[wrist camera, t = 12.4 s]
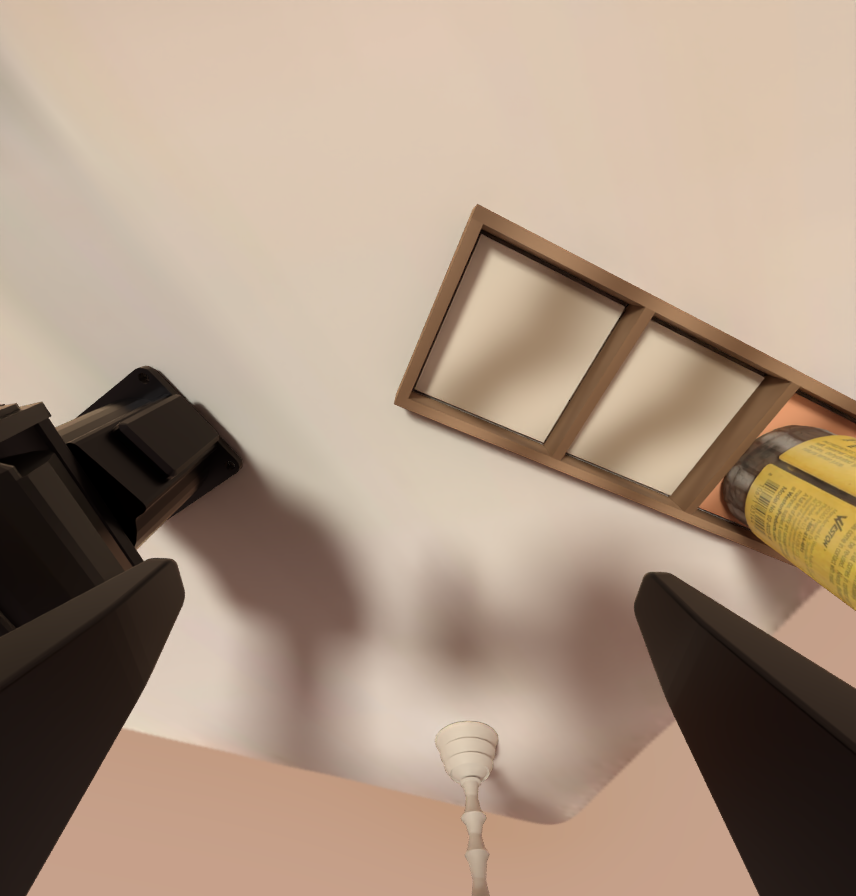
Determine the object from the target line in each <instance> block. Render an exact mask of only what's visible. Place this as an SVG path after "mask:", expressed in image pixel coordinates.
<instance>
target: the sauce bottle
mask: <svg viewBox="0 0 856 896" xmlns="http://www.w3.org/2000/svg"><path fill="white" fill-rule="evenodd" d="M723 496H724V500H725V502H726V504H727V506H728V508H729V510H730V512H731V513H732V515H733V516H734V517H735V518H736V519H738V520H739V521H740V522H741V523H743V524H745V525H746V526H747V527H749V528H750V529H751V530H752V532H753V533H754V534H755V535H756V536H757V537H758V538H759V539H761V540H762V541H763V542H765V543H766V544H767V545H769V546H770V547H771V548H772V549H774V550H775V551H776V552H778V553H779V554H781V555H782V556H783V557H785V558H786V559H787V560H789V561H790V562H791V563H793V564H794V565H795V566H796V567H798V568H799V569H800V570H802V571H803V572H804V573H806V574H807V575H808V576H810V577H811V578H812V579H814V580H815V581H816V582H818V583H819V584H820V585H822V586H823V587H824V588H826V589H827V590H828V591H830V592H831V593H832V594H834V595H835V596H836V597H838V598H839V599H840V600H842V601H843V602H844V603H846V604H847V605H848V606H850V607H851V608H852V609H854V610H855V611H856V438H854V437H851V436H843V435H836V434H834V433H832V432H830V431H828V430H826V429H821V428H816V427H810V426H800V425H788V426H784V427H780V428H777V429H774V430H773V431H771V432H768V433H766V434H764V435H762V436H760V437H758V438H757V439H756V440H755V441H754V442H753V443H752V444H751V446H750V447H749V448H748V449H747V450H746V452H745V453H744V454H743V455H742V456H741V457H740V459H739V460H738V461H737V462H736V463H735V465H734V466H733V467H732V468H731V469H730V471H729V472H728V473H727V474H726V477H725V480H724V483H723Z"/></svg>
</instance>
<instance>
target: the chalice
mask: <svg viewBox="0 0 856 896" xmlns="http://www.w3.org/2000/svg"><path fill="white" fill-rule="evenodd" d="M497 743H498V735H497V733H496V732H495V731H494V729H492V728H491V727H489V726H488V725H486V724H483V723H479V722H472V721H465V722H457V723H454V724H451V725H448V726H446V727H445V728H443V729H442V730H441V731H440V732H439V733H438V734H437V735H436V739H435V744H436V747H437V749H438V751H439V752H440V757H441V760H442V762H443V763H444V765H445V766H444V767H445V771H446V772H447V774H448V775H449V776H450V778H451V779H452V780H453V781H455V782H456V783H459V784H460V785H461V787H463V788H464V792H465V796H466V804H465V812H464V813H463V815H462V817H461V820H462V821H463V823H464V824H465V825H466V827H467V830H468V834H469V842H468V849H467V851H466V853H465V857H466V859H467V861H468V862H469V866H470V870H471V874H472V879H473V886H472V896H490V895H489V891H488V887H487V883H486V868H487V860H488V857H489V852H488V851H487V849H486V848H485V846H484V842H483V839H482V826H483V824H484V822H485V820H486V815H485V814H484V813H483V812H482V811H481V808H480V805H479V801H478V787H479V786H480V785H481V782H483V781H484V780H486V779H487V778H488V776H489V774H490V773H491V771H492V768H493V760H494V757H495V754H496V753H495V748H496V745H497Z"/></svg>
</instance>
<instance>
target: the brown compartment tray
mask: <svg viewBox="0 0 856 896" xmlns="http://www.w3.org/2000/svg"><path fill="white" fill-rule="evenodd" d="M481 229H482V230H484V231H486V232H488V233H490V234H492V235H494V236H496V237H498V238H500V239H502V240H504V241H506V242H508V243H510V244H512V245H514V246H516V247H518V248H520V249H522V250H524V251H526V252H528V253H530V254H531V255H533V256H535V257H537V258H539V259H541V260H543V261H545V262H547V263H549V264H551V265H553V266H555V267H557V268H559V269H561V270H563V271H565V272H567V273H569V274H571V275H573V276H575V277H577V278H579V279H581V280H583V281H585V282H586V283H588V284H590V285H592V286H594V287H596V288H598V289H600V290H602V291H604V292H606V293H608V294H610V295H612V296H614V297H616V298H618V299H620V300H622V301H624V302H626V303H628V306H627V308H626V309H625V307H624V306H622V305H620V304H619V303H617V302H615V301H613V300H611V299H609V298H607V297H605V296H603V295H601V294H599V293H597V292H595V291H593V290H591V289H589V288H587V287H585V286H583V285H581V284H579V283H577V282H575V281H573V280H571V279H569V278H567V277H565V276H563V275H561V274H559V273H557V272H555V271H553V270H551V269H549V268H547V267H545V266H543V265H542V264H540V263H538V262H536V261H534V260H532V259H530V258H528V257H526V256H524V255H522V254H520V253H518V252H516V251H514V250H512V249H510V248H508V247H506V246H504V245H502V244H500V243H498V242H496V241H494V240H492V239H490V238H488V237H486V236H484V235H482V234H481V235H480V237H479V239H478V241H477V244H476V246H475V248H474V251H473V253H472V255H471V258H470V260H469V262H468V265H467V267H466V269H465V272H464V274H463V276H462V279H461V281H460V283H459V285H458V288H457V290H456V292H455V295H454V297H453V299H452V302H451V304H450V306H449V309H448V311H447V313H446V316H445V318H444V320H443V323H442V325H441V327H440V330H439V332H438V334H437V336H436V339H435V341H434V343H433V346H432V348H431V350H430V353H429V355H428V357H427V360H426V362H425V364H424V367H423V369H422V371H421V374H420V376H419V378H418V381H417V383H416V385H415V388H414V389H416V390H418V391H420V392H423V393H425V394H428V395H430V396H432V397H435V398H437V399H440V400H442V401H444V402H447V403H449V404H452V405H454V406H456V407H459V408H461V409H464V410H466V411H468V412H471V413H473V414H476V415H478V416H480V417H483V418H485V419H488V420H490V421H493V422H495V423H497V424H500V425H502V426H505V427H507V428H509V429H512V430H514V431H517V432H519V433H521V434H524V435H526V436H529V437H531V438H533V439H536V440H538V441H541V442H543V443H544V441H545V439H546V438H547V436H548V434H549V433H550V431H551V429H552V428H553V426H554V424H555V423H556V421H557V419H558V418H559V416H560V415H561V413H562V411H563V410H564V408H565V406H566V405H567V403H568V401H569V400H570V398H571V396H572V395H573V393H574V391H575V390H576V388H577V386H578V385H579V383H580V382H581V380H582V378H583V377H584V375H585V373H586V372H587V370H588V368H589V367H590V365H591V363H592V362H593V360H594V358H595V357H596V355H597V353H598V352H599V350H600V348H601V347H602V345H603V344H604V342H605V340H606V339H607V337H608V335H609V334H610V332H611V330H612V329H613V327H614V325H615V324H616V322H617V320H618V319H619V317H620V315H621V314H622V312H623V311H624V309H625V311H624V313H623V314H622V316H621V318H620V319H619V321H618V323H617V324H616V326H615V328H614V329H613V331H612V332H611V334H610V336H609V337H608V339H607V341H606V342H605V344H604V346H603V347H602V349H601V351H600V352H599V354H598V356H597V357H596V359H595V360H594V362H593V364H592V365H591V367H590V369H589V370H588V372H587V374H586V375H585V377H584V379H583V380H582V382H581V384H580V385H579V387H578V388H577V390H576V392H575V393H574V395H573V397H572V398H571V400H570V402H569V403H568V405H567V407H566V408H565V410H564V412H563V413H562V415H561V417H560V418H559V420H558V421H557V423H556V425H555V426H554V428H553V430H552V431H551V433H550V435H549V436H548V438H547V440H546V441H545V443H544V445H542V444H540V443H537V442H535V441H533V440H530V439H528V438H525V437H523V436H520V435H518V434H516V433H513V432H511V431H508V430H506V429H504V428H501V427H499V426H496V425H494V424H492V423H489V422H487V421H484V420H482V419H479V418H477V417H475V416H472V415H470V414H467V413H465V412H463V411H460V410H458V409H455V408H453V407H451V406H448V405H446V404H443V403H441V402H438V401H436V400H434V399H431V398H429V397H426V396H424V395H422V394H419V393H417V392H414V391H412V389H413V386H414V384H415V382H416V379H417V377H418V375H419V372H420V370H421V368H422V365H423V363H424V361H425V358H426V356H427V354H428V351H429V349H430V347H431V344H432V342H433V340H434V337H435V335H436V333H437V331H438V328H439V326H440V324H441V321H442V319H443V317H444V314H445V312H446V310H447V307H448V305H449V303H450V300H451V298H452V296H453V293H454V291H455V289H456V286H457V284H458V282H459V279H460V277H461V275H462V272H463V270H464V268H465V265H466V263H467V261H468V258H469V256H470V254H471V251H472V249H473V247H474V244H475V242H476V240H477V237H478V235H479V233H480V230H481ZM652 317H655V318H657V319H659V320H661V321H663V322H665V323H667V324H669V325H671V326H673V327H675V328H677V329H679V330H681V331H683V332H685V333H687V334H689V335H691V336H693V337H695V338H696V339H698V340H700V341H702V342H704V343H706V344H708V345H710V346H712V347H714V348H716V349H718V350H720V351H722V352H724V353H726V354H728V355H730V356H732V357H734V358H736V359H738V360H740V361H742V362H744V363H746V364H748V365H750V366H751V367H753V368H755V369H757V370H759V371H761V372H763V373H765V374H766V375H765V376H764V377H763V376H761V375H759V374H757V373H755V372H753V371H751V370H749V369H747V368H745V367H743V366H741V365H739V364H737V363H735V362H733V361H731V360H729V359H727V358H725V357H723V356H721V355H719V354H717V353H715V352H713V351H711V350H709V349H707V348H705V347H703V346H701V345H699V344H697V343H695V342H694V341H692V340H690V339H688V338H686V337H684V336H682V335H680V334H678V333H676V332H674V331H672V330H670V329H668V328H666V327H664V326H662V325H660V324H658V323H656V322H654V321H652V320H651V318H652ZM797 390H799V391H801V392H803V393H805V394H806V395H808V396H810V397H812V398H814V399H816V400H818V401H820V402H822V403H824V404H826V405H828V406H830V407H832V408H834V409H836V410H838V411H840V412H842V413H844V414H846V415H848V416H850V417H852V418H854V419H856V401H855V400H853V399H851V398H849V397H847V396H845V395H843V394H842V393H840V392H838V391H836V390H834V389H832V388H830V387H828V386H826V385H824V384H822V383H820V382H818V381H817V380H815V379H813V378H811V377H809V376H807V375H805V374H803V373H801V372H799V371H797V370H795V369H794V368H792V367H790V366H788V365H786V364H784V363H782V362H780V361H778V360H776V359H774V358H772V357H770V356H769V355H767V354H765V353H763V352H761V351H759V350H757V349H755V348H753V347H751V346H749V345H747V344H745V343H744V342H742V341H740V340H738V339H736V338H734V337H732V336H730V335H728V334H726V333H724V332H722V331H721V330H719V329H717V328H715V327H713V326H711V325H709V324H707V323H705V322H703V321H701V320H699V319H697V318H696V317H694V316H692V315H690V314H688V313H686V312H684V311H682V310H680V309H678V308H676V307H674V306H672V305H671V304H669V303H667V302H665V301H663V300H661V299H659V298H657V297H655V296H653V295H651V294H649V293H648V292H646V291H644V290H642V289H640V288H638V287H636V286H634V285H632V284H630V283H628V282H626V281H624V280H623V279H621V278H619V277H617V276H615V275H613V274H611V273H609V272H607V271H605V270H603V269H601V268H599V267H598V266H596V265H594V264H592V263H590V262H588V261H586V260H584V259H582V258H580V257H578V256H576V255H575V254H573V253H571V252H569V251H567V250H565V249H563V248H561V247H559V246H557V245H555V244H553V243H551V242H550V241H548V240H546V239H544V238H542V237H540V236H538V235H536V234H534V233H532V232H530V231H528V230H526V229H525V228H523V227H521V226H519V225H517V224H515V223H513V222H511V221H509V220H507V219H505V218H503V217H502V216H500V215H498V214H496V213H494V212H492V211H490V210H488V209H486V208H484V207H482V206H480V205H478V204H477V205H476V206H475V207H474V208H473V210H472V213H471V215H470V217H469V220H468V222H467V225H466V227H465V229H464V232H463V234H462V237H461V239H460V241H459V244H458V246H457V249H456V251H455V254H454V256H453V258H452V261H451V263H450V266H449V268H448V270H447V273H446V275H445V278H444V280H443V282H442V285H441V287H440V290H439V292H438V295H437V297H436V299H435V302H434V304H433V307H432V309H431V311H430V314H429V316H428V319H427V321H426V323H425V326H424V328H423V331H422V333H421V336H420V338H419V340H418V343H417V345H416V348H415V350H414V352H413V355H412V357H411V360H410V362H409V364H408V367H407V369H406V372H405V374H404V376H403V379H402V381H401V384H400V386H399V389H398V391H397V393H396V397H395V402H394V404H395V405H397V406H400V407H402V408H405V409H407V410H410V411H412V412H415V413H417V414H420V415H422V416H425V417H427V418H429V419H432V420H434V421H437V422H439V423H442V424H444V425H447V426H449V427H452V428H454V429H457V430H459V431H462V432H464V433H467V434H469V435H471V436H474V437H476V438H479V439H481V440H484V441H486V442H489V443H491V444H494V445H496V446H499V447H501V448H504V449H506V450H509V451H511V452H514V453H516V454H518V455H521V456H523V457H526V458H528V459H531V460H533V461H536V462H538V463H541V464H543V465H546V466H548V467H551V468H553V469H556V470H558V471H560V472H563V473H565V474H568V475H570V476H573V477H575V478H578V479H580V480H583V481H585V482H588V483H590V484H593V485H595V486H598V487H600V488H603V489H605V490H607V491H610V492H612V493H615V494H617V495H620V496H622V497H625V498H627V499H630V500H632V501H635V502H637V503H640V504H642V505H645V506H647V507H649V508H652V509H654V510H657V511H659V512H662V513H664V514H667V515H669V516H672V517H674V518H677V519H679V520H682V521H684V522H687V523H689V524H692V525H694V526H696V527H699V528H701V529H704V530H706V531H709V532H711V533H714V534H716V535H719V536H721V537H724V538H726V539H729V540H731V541H734V542H736V543H738V544H741V545H743V546H746V547H748V548H751V549H753V550H756V551H758V552H761V553H763V554H766V555H768V556H771V557H773V558H776V559H778V560H781V561H783V562H785V563H788V564H790V565H793V566H795V565H794V564H793V563H791V562H790V561H789V560H787V559H786V558H785V557H783V556H782V555H781V554H779V553H778V552H776V551H775V550H774V549H772V548H771V547H770V546H769V545H767V544H766V543H765V542H763V541H762V540H761V539H759V538H758V537H757V536H756V535H755V534H754V533H753V532H752V531H750V530H747V529H745V528H742V527H740V526H738V525H735V524H733V523H730V522H728V521H726V520H723V519H721V518H718V517H716V516H713V515H711V514H709V513H706V512H704V511H701V510H699V509H697V508H698V507H699V508H702V509H704V510H707V511H709V512H711V513H714V514H716V515H719V516H721V517H723V518H726V519H728V520H731V521H733V522H735V523H738V524H740V525H743V526H745V527H747V526H746V525H745V524H743V523H741V522H740V521H739V520H738V519H736V518H735V517H734V516H733V515H732V513H731V512H730V510H729V508H728V506H727V504H726V502H725V500H724V496H723V483H724V480H725V477H726V474H727V473H728V472H729V471H730V469H731V468H732V467H733V466H734V465H735V463H736V462H737V461H738V460H739V459H740V457H741V456H742V455H743V454H744V453H745V452H746V450H747V449H748V448H749V447H750V446H751V444H752V443H753V442H754V441H755V440H756V439H757V438H758V437H760V436H762V435H764V434H766V433H768V432H771V431H773V430H774V429H777V428H780V427H784V426H788V425H800V426H810V427H816V428H821V429H826V430H828V431H830V432H832V433H834V434H836V435H843V436H851V437H854V438H856V424H855V423H853V422H851V421H849V420H847V419H846V418H844V417H842V416H840V415H838V414H836V413H834V412H832V411H830V410H828V409H826V408H824V407H822V406H820V405H818V404H816V403H814V402H812V401H810V400H808V399H806V398H804V397H802V396H800V395H798V394H796V393H795V392H796V391H797ZM566 452H567V453H569V454H572V455H574V456H577V457H579V458H582V459H584V460H586V461H589V462H591V463H594V464H596V465H598V466H601V467H603V468H606V469H608V470H610V471H613V472H615V473H618V474H620V475H622V476H625V477H627V478H630V479H632V480H634V481H637V482H639V483H642V484H644V485H646V486H649V487H651V488H654V489H656V490H658V491H661V492H663V493H666V494H668V495H669V497H668V496H665V495H663V494H660V493H658V492H656V491H653V490H651V489H648V488H646V487H644V486H641V485H639V484H636V483H634V482H631V481H629V480H627V479H624V478H622V477H619V476H617V475H615V474H612V473H610V472H607V471H605V470H603V469H600V468H598V467H595V466H593V465H590V464H588V463H586V462H583V461H581V460H578V459H576V458H574V457H571V456H569V455H566V454H565V453H566ZM747 528H749V527H747ZM795 567H796V566H795Z"/></svg>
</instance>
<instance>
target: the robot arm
mask: <svg viewBox="0 0 856 896" xmlns="http://www.w3.org/2000/svg"><path fill="white" fill-rule="evenodd" d="M144 373H145V374H146V375H148V377H149V381H147V380H146V379H145V378H144V375H143V374H144ZM49 417H51V414H50V413H49V411H48V410H47V408H46V407H45V405H44V404H43V402H38V403H34V404H30V405H25V406H21V407H19V406H18V404H17V403H15V404H9V405H5V404H2V405H0V896H26V895H27V893H28V892H29V890H30V888H31V886H32V885H33V883H34V881H35V879H36V878H37V876H38V874H39V872H40V871H41V869H42V867H43V865H44V864H45V862H46V860H47V858H48V857H49V855H50V853H51V851H52V850H53V848H54V846H55V844H56V843H57V841H58V839H59V837H60V836H61V834H62V832H63V830H64V829H65V827H66V825H67V823H68V822H69V820H70V818H71V816H72V815H73V813H74V811H75V809H76V808H77V806H78V804H79V802H80V801H81V799H82V797H83V795H84V794H85V792H86V790H87V788H88V787H89V785H90V783H91V781H92V780H93V778H94V776H95V774H96V773H97V771H98V769H99V767H100V766H101V764H102V762H103V760H104V759H105V757H106V755H107V753H108V752H109V750H110V748H111V746H112V745H113V743H114V741H115V739H116V737H117V736H118V734H119V732H120V731H121V729H122V727H123V725H124V724H125V722H126V720H127V718H128V717H129V715H130V713H131V711H132V710H133V708H134V706H135V704H136V703H137V701H138V699H139V697H140V695H141V693H142V692H143V690H144V688H145V686H146V684H147V682H148V680H149V678H150V676H151V674H152V672H153V670H154V667H155V665H156V663H157V661H158V659H159V656H160V654H161V652H162V650H163V648H164V645H165V643H166V641H167V639H168V637H169V634H170V632H171V630H172V628H173V626H174V623H175V621H176V619H177V617H178V615H179V612H180V610H181V608H182V606H183V603H184V599H185V590H184V587H183V583H182V579H181V576H180V572H179V569H178V565H177V563H176V562H175V561H174V560H173V559H168V558H151V559H148V560H145V561H143V559H142V558H141V556H140V555H139V553H138V552H137V549H138V548H139V547H140V546H141V545H142V544H143V543H144V542H145V541H146V540H147V539H148V538H149V537H150V536H151V535H152V534H153V533H154V532H155V531H156V530H157V529H158V528H159V527H160V526H161V525H162V524H163V523H164V522H165V521H166V520H168V519H169V518H171V517H172V516H174V515H175V514H176V513H178V512H179V511H181V510H182V509H184V508H185V507H187V506H188V505H190V504H191V503H193V502H194V501H196V500H197V499H199V498H200V497H202V496H203V495H205V494H206V493H207V492H209V491H210V490H212V489H213V488H215V487H216V486H218V485H219V484H221V483H222V482H224V481H225V480H227V479H228V478H230V477H231V476H233V475H234V474H236V473H237V472H238V471H239V470H240V469H241V467H242V465H243V462H242V459H241V458H240V457H239V456H238V455H237V454H236V453H235V452H234V451H233V450H232V448H231V447H230V446H229V445H228V444H227V443H226V442H225V441H224V440H223V439H222V438H221V437H220V436H219V435H218V433H217V432H216V431H215V429H214V428H213V427H212V426H211V425H210V424H209V423H208V422H207V421H206V420H205V419H204V418H203V417H202V416H201V415H200V414H199V413H198V412H197V411H196V410H195V409H194V408H193V407H192V406H191V405H190V404H189V402H188V401H187V400H186V399H185V398H184V397H183V396H180V395H179V394H178V393H177V391H176V390H175V389H174V388H173V387H172V386H171V385H170V384H169V383H168V382H167V381H166V380H165V379H164V378H163V377H162V376H161V375H160V374H159V373H158V372H157V371H156V370H155V369H154V368H152V367H150V366H142V367H140V368H137V369H135V370H134V371H133V372H131V373H130V374H129V375H128V376H126V377H125V378H124V379H123V380H122V381H120V382H119V383H118V384H117V385H116V386H114V387H113V388H112V389H111V390H109V391H108V392H107V393H106V394H105V395H103V396H102V397H101V398H100V399H98V400H97V401H96V402H95V403H94V404H92V405H91V406H90V407H89V408H88V409H86V410H85V411H84V412H83V413H81V414H80V415H79V416H78V417H77V418H75V419H74V420H71V421H69V422H67V423H64V424H62V425H60V426H58V427H54V425H53V424H52V422H51V421H50V419H49ZM228 461H231V462H233V463H234V465H235V466H231V465H229V463H228ZM634 612H635V616H636V619H637V622H638V625H639V627H640V630H641V633H642V636H643V638H644V641H645V644H646V647H647V649H648V652H649V655H650V658H651V660H652V663H653V666H654V668H655V671H656V674H657V677H658V679H659V682H660V685H661V687H662V690H663V692H664V695H665V697H666V699H667V702H668V704H669V706H670V708H671V710H672V713H673V715H674V717H675V719H676V721H677V723H678V725H679V727H680V729H681V731H682V734H683V735H684V738H685V740H686V742H687V744H688V746H689V748H690V750H691V753H692V755H693V757H694V759H695V761H696V763H697V765H698V767H699V769H700V771H701V773H702V776H703V778H704V780H705V782H706V784H707V786H708V788H709V790H710V793H711V795H712V797H713V799H714V801H715V803H716V805H717V807H718V809H719V812H720V814H721V816H722V818H723V820H724V822H725V824H726V826H727V828H728V830H729V833H730V835H731V837H732V839H733V841H734V843H735V845H736V847H737V849H738V851H739V853H740V856H741V858H742V860H743V862H744V864H745V866H746V868H747V870H748V872H749V874H750V877H751V879H752V881H753V883H754V885H755V887H756V889H757V892H758V894H759V896H856V689H855V688H854V687H852V686H851V685H849V684H847V683H846V682H844V681H843V680H841V679H839V678H838V677H836V676H835V675H833V674H831V673H829V672H828V671H827V670H825V669H823V668H822V667H820V666H819V665H817V664H815V663H814V662H812V661H811V660H809V659H807V658H806V657H804V656H802V655H801V654H799V653H798V652H796V651H794V650H793V649H791V648H790V647H788V646H786V645H785V644H783V643H782V642H780V641H778V640H777V639H775V638H774V637H772V636H770V635H769V634H767V633H766V632H764V631H762V630H761V629H759V628H757V627H756V626H754V625H753V624H751V623H749V622H748V621H746V620H745V619H743V618H741V617H740V616H738V615H737V614H735V613H733V612H732V611H730V610H729V609H727V608H725V607H724V606H722V605H721V604H719V603H717V602H716V601H714V600H713V599H711V598H709V597H708V596H706V595H704V594H703V593H701V592H700V591H698V590H696V589H695V588H693V587H692V586H690V585H688V584H687V583H685V582H684V581H682V580H680V579H679V578H677V577H676V576H674V575H672V574H670V573H666V572H649V573H647V574H645V575H644V577H643V580H642V583H641V585H640V588H639V591H638V594H637V597H636V600H635V603H634Z"/></svg>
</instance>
